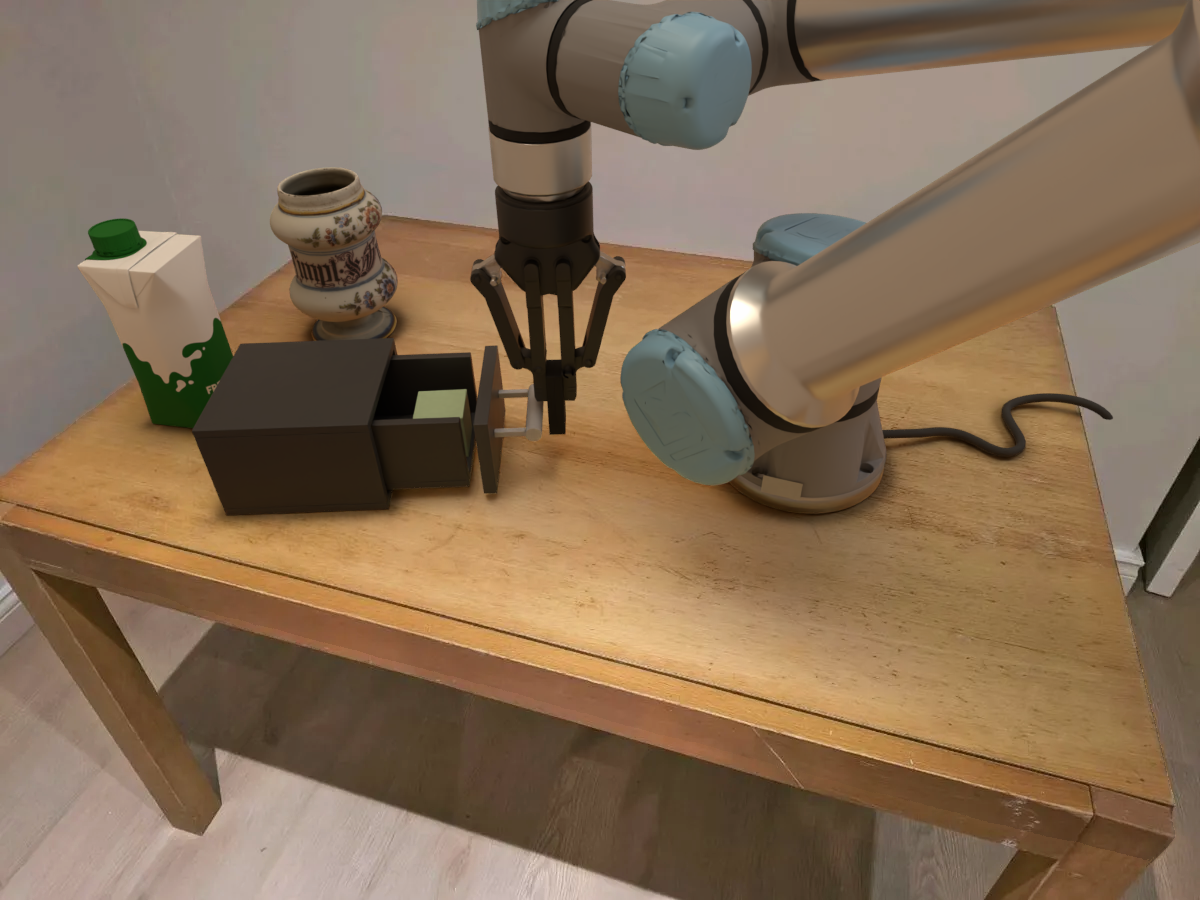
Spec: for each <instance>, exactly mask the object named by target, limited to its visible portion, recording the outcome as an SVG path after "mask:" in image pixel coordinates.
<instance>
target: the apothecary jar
mask: <svg viewBox="0 0 1200 900" xmlns="http://www.w3.org/2000/svg"><path fill="white" fill-rule="evenodd" d="M276 191H277V197H278V199H277V203H276V204H275V205H274V207H273V208H272V210H271V213H270V215H269V227H270V229H271V231H272V233H273V235H274V236H275V237H276V238H277V239H278V240H280V241H281V242H282V243H284V244H286V245H287V247H288V250H289V253H290V256H291V260H292V265H293V269H294V273H295V275H294V276H293V278H292V280H291V282H290V285H289V289H288V290H289V298H290V300H291V302H292V304H293V306H294V307H295V308H296V309H297V310H298V311H299V312H301V313H302V314H304V315H306V316H308V317H309V318H312V319H314V320H316V321H315V322H314V324H313V326H312V328H311V338H312V339H313V341H325V340H352V339H379V338H389V336H391V335H392V333H393V332H394V331H395V329H396V327H397V323H398V322H397V317H396V315H395V313H394V312H393V311H392V310H390V309H389V308H388V307H385V306H386V305H387V304H388V303H389V302H390V301H391V300H392V298H393V297H394V295H395V294H396V291H397V288H398V283H399V281H398V274H397V272H396V270H395V268H394V267H393V265H392V264H391V263H390V262H389V261H388V260H386V259H385V258H384V257H382V254H381V251H380V247H379V244H378V239H377V234H376V229H377V228H378V227H379V225H380V223H381V221H382V218H383V207H382V205H381V202H380V200H379V199H378V198H377V197H376V196H375V194H373V193H372V192H371V191H369V190H368V189H365V187H364V186H363V185H362V183H361V180H360V177H359V175H358V173H356V172H355V171H353V170H351V169H349V168H344V167H337V166H336V167H335V166H332V167H331V166H328V167H318V168H317V167H316V168H311V169H307V170H303V171H299V172H297V173H294V174H292V175H290V176H287V177H286V178H284V179H282V180H281V181H280V182H279V183H278V185H277V188H276Z"/></svg>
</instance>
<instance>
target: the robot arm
mask: <svg viewBox="0 0 1200 900" xmlns="http://www.w3.org/2000/svg"><path fill="white" fill-rule="evenodd" d="M476 14H477V15H476V17H477V19H476V20H477V21H476V23H475V27H476V31H478V37H479V45H480V57H481V65H482V75H483V85H484V93H485V103H486V113H487V121H488V122H487V123H488V128H487V129H488V138H489V148H490V149H489V150H490V158H491V167H492V178H493V181H494V183H495V184H496V185H497V186H496V187H495V189H494V199H495V209H496V218H497V231H498V239H497V242H496V244H495V246H494V248H495V249H494V253H493V254H491V255H490V256H488V257H487V258H485V259H482V258H477V259H475V260H474V261H473V263H472V266H471V267H472V268H471V273H470V277H469V280H470V283H471V284H472V285H473V286H474V288H475V290H477V291H478V293H479V294H481V296H482V297H483V299H484V300H485V303H486V305H487V308H488V311H489V312H490V315H491V317H492V320H493V323H494V325H495V328H496V331H497V334H498V335H499V338H500V341H501V344H502V346H503V348H504V351H505V354H506V356H507V360H508V361H509V364H510V366H511V368H512V369H514V370H516V371H519V370H524V369H525V370H528V371H529V372H531V374H532V384H534V396H535V399H536V400H537V402H540V401H544V402H546V403H547V404H546V405H547V419H548V420H547V421H548V433H549V434H548V435H549V436H555V435H557V436H559V435H561V436H562V435H567V433H566V430H567V428H566V427H567V410H566V406H567V405H566V402H569V401H574V402H575V401H576V398H577V397H578V395H577V394H578V384H577V383H578V381H577V372H578V371H579V370H580V369H582V368H586V369H591V368H593V367H595V366H596V364H597V360H598V356H599V352H600V349H601V344H602V341H603V337H604V333H605V330H606V326H607V322H608V318H609V314H610V311H611V308H612V303H613V300H614V296H615V294H617V292H618V291H619V289H620V288H621V286H622V285H623V284H624V282H625V281H626V279H627V269H626V260H625V258H624V257H622V256H621V255H616V256H611V255H609V254H607V253H606V252H604V251H602V250H601V246H600V245H601V243H600V241H599V240H598V239H597V237H596V234H595V231H594V194H593V193H594V191H593V185H592V183H591V182H590V180H591V179H592V177H593V150H592V149H593V148H592V146H593V145H592V142H593V141H592V124H595V125H599V126H603V127H605V128H609V129H612V130H615V131H618V132H621V133H625V134H628V135H631V136H634V137H637V138H640V139H642V140H643V141H647V142H648V143H651V144H653V145H656V144H658V145H660V146H662V147H676V148H680V149H681V148H682V149H686V150H693V151H702V150H707V149H710V148H712V147H714V146H716V145H718V144H719V143H721V142H722V141H723V140H724V139H725V138H726V137H727V135H728V133H729V129H730V127H732V126H736V125H737V123H738V121H739V120H740V118H741V117H742V113H743V111H744V109H745V106H746V104H747V100H748V97H749V96H752V95H754V94H756V93H758V92H761V91H763V90H766V89H770V88H775V87H780V86H789V85H797V84H798V85H800V84H810V83H814V82H822V81H827V80H837V79H846V78H855V77H864V76H865V77H866V76H872V75H883V74H892V73H902V72H911V71H921V70H932V69H940V68H941V69H942V68H951V67H961V66H970V65H979V64H980V65H981V64H988V63H998V62H1007V61H1018V60H1028V59H1036V58H1047V57H1056V56H1057V57H1058V56H1065V55H1075V54H1085V53H1093V52H1104V51H1113V50H1115V51H1116V50H1123V49H1132V48H1133V49H1135V48H1142V47H1147V48H1146V49H1145V50H1143V51H1142V52H1140V53H1138V54H1136V55H1135V56H1133V57H1132V58H1130V59H1128V60H1127V61H1125V62H1124V63H1122V64H1121V65H1119V66H1117V67H1115V68H1113V69H1112V70H1111V71H1109V72H1108V73H1106V74H1104V75H1103V76H1101V77H1099V78H1098V79H1095V81H1093V82H1091V83H1090V84H1088V85H1087V86H1085V87H1084V88H1082V89H1079V91H1077V92H1075V93H1074V94H1072V95H1070V96H1069V97H1067V98H1066V99H1064V100H1063V101H1061V102H1059V103H1057V104H1056V105H1055V106H1053V107H1051V108H1050V109H1048V110H1046V111H1045V112H1043V113H1042V114H1040V115H1039V116H1037V117H1035V118H1034V119H1031V120H1030V121H1029V122H1027V123H1026V124H1024V125H1022V126H1020V127H1019V128H1017V129H1016V130H1014V131H1013V132H1011V133H1010V134H1008V135H1006V136H1004V137H1002V138H1001V139H999V140H998V141H996V142H995V143H993V144H992V145H990V146H988V147H987V148H985V149H983V150H982V151H980V152H978V153H977V154H975V155H974V156H973V157H970V158H969V159H967V160H966V161H964V162H963V163H961V164H959V165H957V166H956V167H955V168H953V169H951V170H950V171H948V172H947V173H945V174H943V175H942V176H940V177H939V178H937V179H935V180H934V181H931V182H930V183H929V184H927V185H925V186H924V187H922V188H921V189H919V190H918V191H916V192H914V193H913V194H911V195H910V196H908V197H906V198H905V199H903V200H901V201H899V202H898V203H897V204H895V205H894V206H892V207H890V208H889V209H887V210H885V211H884V212H882V213H880V214H878V215H877V216H875V217H874V218H873V219H871V220H869V221H867V222H866V221H863V220H859V219H856V218H852V217H847V216H842V215H837V214H828V213H817V212H799V213H798V212H797V213H788V214H782V215H778V216H775V217H771V218H770V219H767V220H766V221H764V222H763V223H762V224H760V226H759V227H758V229H757V231H756V236H755V239H754V241H753V242H752V251H753V261H752V264H751V266H750V267H749V268H748V269H747V270H745V271H744V272H743V273H741V274H739V275H738V276H736V277H734V278H732V279H731V280H729V281H727V282H726V283H725V284H722V286H720V287H718V288H717V289H715V290H714V291H712V292H711V293H710V294H708V295H706V296H705V297H704V298H702V299H701V300H699V301H697V302H696V303H694V304H693V305H692V306H690V307H688V308H687V309H686V310H684V311H682V312H681V313H680V314H678V315H677V316H675V317H674V318H672V319H670V320H669V321H668V322H666V323H665V324H663V325H661V326H659V327H658V328H654V329H651V330H649V331H647V332H646V333H645V334H644V335H643V337H642V338H641V340H640V341H639V342H638V343H637V344H635V345H633V347H631V348H630V350H629V351H628V352H627V353H626V354H625V357H624V359H623V362H622V365H621V369H620V378H619V379H620V387H621V390H622V396H621V397H622V401H623V406H624V408H625V410H626V413H627V416H628V418H629V420H630V422H631V425H632V426H633V428H634V429H635V431H636V433H637V435H638V437H640V439H641V440H642V442H643V443H644V444H645V446H646V447H647V449H648V450H649V451H650V452H651V453H652V454H653V455H654V456H655V457H656V458H657V459H658V460H659V462H661V463H662V464H663V465H665V466H666V467H667V468H668V469H671V470H673V471H674V472H676V473H677V474H678V475H679V476H681V477H682V478H684V479H685V480H688V481H690V482H693V483H695V484H700V485H705V486H721V485H724V484H728V483H729V484H730V485H731V486H732V487H733V488H734V489H735V490H737V491H738V492H739V493H741V494H742V495H743V496H745V497H747V498H748V499H749V500H751V501H754V502H756V503H758V504H761V505H763V506H765V507H769V508H772V509H775V510H779V511H783V512H788V513H794V514H795V513H796V514H806V515H807V514H809V515H810V514H815V515H816V514H828V513H833V512H834V513H835V512H838V511H842V510H846V509H849V508H852V507H854V506H856V505H858V504H860V503H862V502H863V501H865V500H866V499H867V498H869V497H870V496H871V495H872V494H873V493H874V492H875V491H876V490H877V488H878V487H879V486H880V484H881V481H882V478H883V475H884V470H885V466H886V461H887V456H888V455H887V448H886V443H885V440H887V439H889V440H891V439H917V438H919V439H921V438H929V437H948V438H954V439H959V440H961V441H964V442H967V443H968V444H971V445H973V446H975V447H977V448H978V449H981V450H982V451H984V452H986V453H989V454H991V455H994V456H997V457H1002V458H1011V457H1015V456H1018V455H1020V454H1022V453H1023V452H1024V451H1025V449H1026V446H1027V440H1026V438H1025V437H1026V436H1025V435H1024V434H1023V432H1022V429H1021V428H1020V426H1019V425H1018V424H1017V422H1016V421H1015V419H1014V417H1013V414H1012V409H1014V408H1016V407H1019V406H1023V405H1027V404H1035V403H1061V404H1068V405H1073V406H1077V407H1081V408H1084V409H1087V410H1089V411H1090V412H1093V413H1095V414H1096V415H1098V416H1099V417H1101V418H1102V419H1103V420H1106V421H1112V420H1113V419H1114V416H1113V415H1112V413H1111V412H1110V411H1109V410H1108V409H1107V408H1105V407H1104V406H1103V405H1101V404H1099V403H1097V402H1095V401H1092V400H1090V399H1087V398H1084V397H1080V396H1076V395H1071V394H1067V393H1051V392H1046V393H1044V392H1043V393H1042V392H1041V393H1033V394H1026V395H1025V394H1024V395H1022V396H1021V395H1020V396H1017V397H1015V398H1011V399H1009V400H1008V401H1007V402H1005V403H1004V404H1003V405H1002V407H1001V411H1000V413H1001V418H1002V420H1003V423H1004V424H1005V425H1006V427H1007V429H1008V430H1009V431H1010V433H1011V435H1012V436H1013V439H1014V441H1015V445H1014V446H1011V447H1002V446H998V445H995V444H993V443H991V442H989V441H987V440H985V439H983V438H982V437H979V436H977V435H975V434H973V433H970V432H968V431H965V430H963V429H959V428H954V427H947V426H946V427H945V426H935V427H923V428H897V429H896V428H894V429H893V428H892V429H883V427H882V421H881V417H880V416H881V415H880V409H879V403H878V397H879V391H880V386H881V381H882V378H883V377H886V376H888V375H891V374H893V373H895V372H898V371H900V370H902V369H905V368H907V367H909V366H911V365H914V364H917V363H918V362H921V361H923V360H926V359H928V358H930V357H933V356H935V355H937V354H940V353H942V352H945V351H947V350H949V349H952V348H954V347H956V346H959V345H962V344H964V343H966V342H968V341H970V340H973V339H975V338H977V337H980V336H983V335H984V334H987V333H989V332H992V331H995V330H996V329H999V328H1001V327H1004V326H1006V325H1008V324H1010V323H1013V322H1015V321H1018V320H1020V319H1023V318H1024V317H1027V316H1030V315H1033V314H1035V313H1036V312H1038V311H1041V310H1044V309H1046V308H1049V307H1050V306H1053V305H1055V304H1058V303H1060V302H1063V301H1065V300H1067V299H1069V298H1072V297H1074V296H1076V295H1080V294H1081V293H1084V292H1086V291H1089V290H1091V289H1093V288H1095V287H1098V286H1100V285H1102V284H1105V283H1107V282H1110V281H1112V280H1114V279H1117V278H1119V277H1122V276H1124V275H1126V274H1128V273H1131V272H1133V271H1135V270H1138V269H1140V268H1144V267H1145V266H1147V265H1150V264H1152V263H1155V262H1157V261H1159V260H1161V259H1164V258H1166V257H1169V256H1171V255H1173V254H1176V253H1178V252H1181V251H1182V250H1185V249H1188V248H1190V247H1193V246H1194V245H1197V244H1199V243H1200V0H662V1H659V2H656V3H650V4H642V3H641V4H640V3H631V2H627V1H618V0H476ZM595 267H596V270H595V279H596V281H597V285H596V290H595V293H594V297H593V301H592V305H591V309H590V313H589V316H588V320H587V325H586V329H585V333H584V337H583V341H582V345H581V346H579V347H576V332H575V330H576V329H575V308H574V292H575V291H576V290H577V289H578V288H579V287H580V285H582V283H583V282H584V281H585V279H586V278H587V276H588V275H589V274H590V273H591V271H592V270H593V269H594V268H595ZM501 269H502V270H503V271H504V273H505V274H506V275H507V276H508V277H509V278H510V279H511V280H512V281H513V282H514V284H516V286H517V287H518V288H519V289H520V290H521V291H523V292H525V303H526V306H525V307H526V310H527V311H526V313H527V323H528V337H529V348H527V347H526V344H525V341H524V339H523V335H522V333H521V330H520V327H519V325H518V323H517V319H516V317H515V315H514V311H513V309H512V306H511V304H510V301H509V298H508V296H507V293H506V290H505V288H504V285H503V283H502V276H503V272H502V270H501ZM547 295H552V296H553V295H554V296H556V300H557V301H556V303H557V310H558V311H557V312H558V330H559V331H558V332H559V349H560V359H547V354H548V350H547V338H546V336H547V335H546V322H545V307H544V305H545V304H544V296H547Z"/></svg>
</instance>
